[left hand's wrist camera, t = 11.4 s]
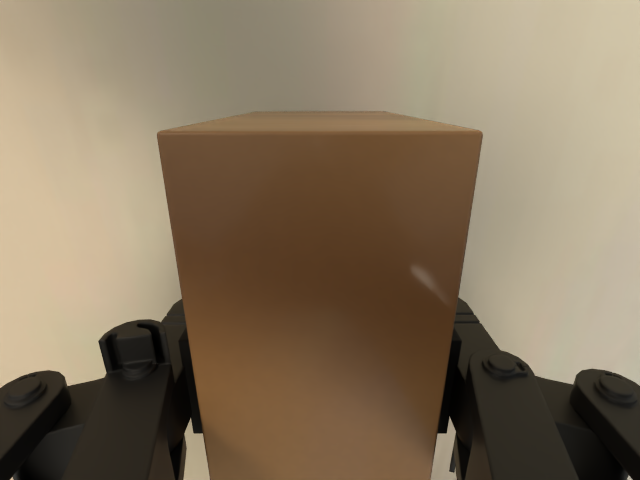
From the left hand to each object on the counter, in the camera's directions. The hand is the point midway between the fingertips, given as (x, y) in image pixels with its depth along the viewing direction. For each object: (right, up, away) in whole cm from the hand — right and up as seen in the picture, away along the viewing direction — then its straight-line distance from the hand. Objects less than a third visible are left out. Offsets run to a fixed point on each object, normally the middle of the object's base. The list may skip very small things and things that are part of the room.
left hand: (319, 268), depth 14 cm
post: (0, -21, +9) cm, 23 cm away
